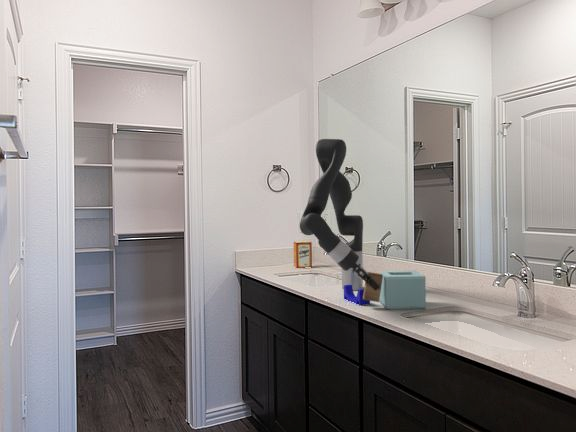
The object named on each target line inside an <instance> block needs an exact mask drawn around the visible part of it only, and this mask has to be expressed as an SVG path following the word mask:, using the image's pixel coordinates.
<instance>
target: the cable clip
mask: <svg viewBox="0 0 576 432" xmlns="http://www.w3.org/2000/svg"><path fill="white" fill-rule="evenodd" d="M363 293H364V288H363V289H359V290H357V294H356V295H355V293H354V290H353V289H352V285H344V289H343V300H344V299H346V300H348V301H347V302H349V301H351V302H350V303H352V302H354V303H356V304H355V305H357V304H359V305H358V306H360V305H361V306H364V305H363V304H370V305H371V301H368V300H364V299H363ZM346 300H345V301H346ZM354 303H353V304H354Z"/></svg>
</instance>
